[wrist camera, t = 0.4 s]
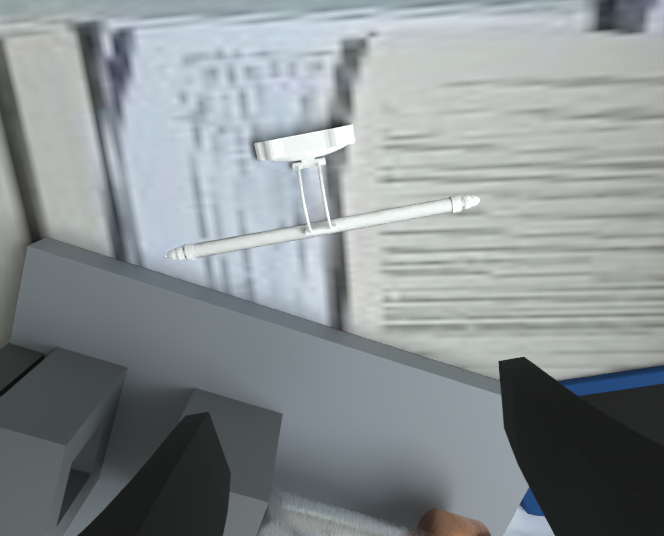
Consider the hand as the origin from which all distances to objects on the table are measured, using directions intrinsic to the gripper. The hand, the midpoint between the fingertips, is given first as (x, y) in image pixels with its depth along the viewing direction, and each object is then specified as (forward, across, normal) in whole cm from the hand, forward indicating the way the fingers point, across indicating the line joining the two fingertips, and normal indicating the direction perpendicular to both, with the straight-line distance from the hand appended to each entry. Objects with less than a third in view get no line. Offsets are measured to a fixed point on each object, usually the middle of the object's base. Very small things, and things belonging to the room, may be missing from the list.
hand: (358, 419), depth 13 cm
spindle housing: (+10, +5, +9) cm, 14 cm away
